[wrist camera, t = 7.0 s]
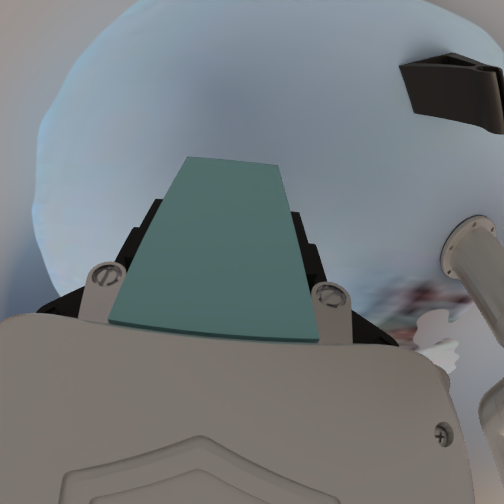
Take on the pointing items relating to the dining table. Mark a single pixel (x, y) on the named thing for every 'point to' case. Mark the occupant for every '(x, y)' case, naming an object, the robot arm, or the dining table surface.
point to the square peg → (220, 259)
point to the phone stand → (457, 90)
